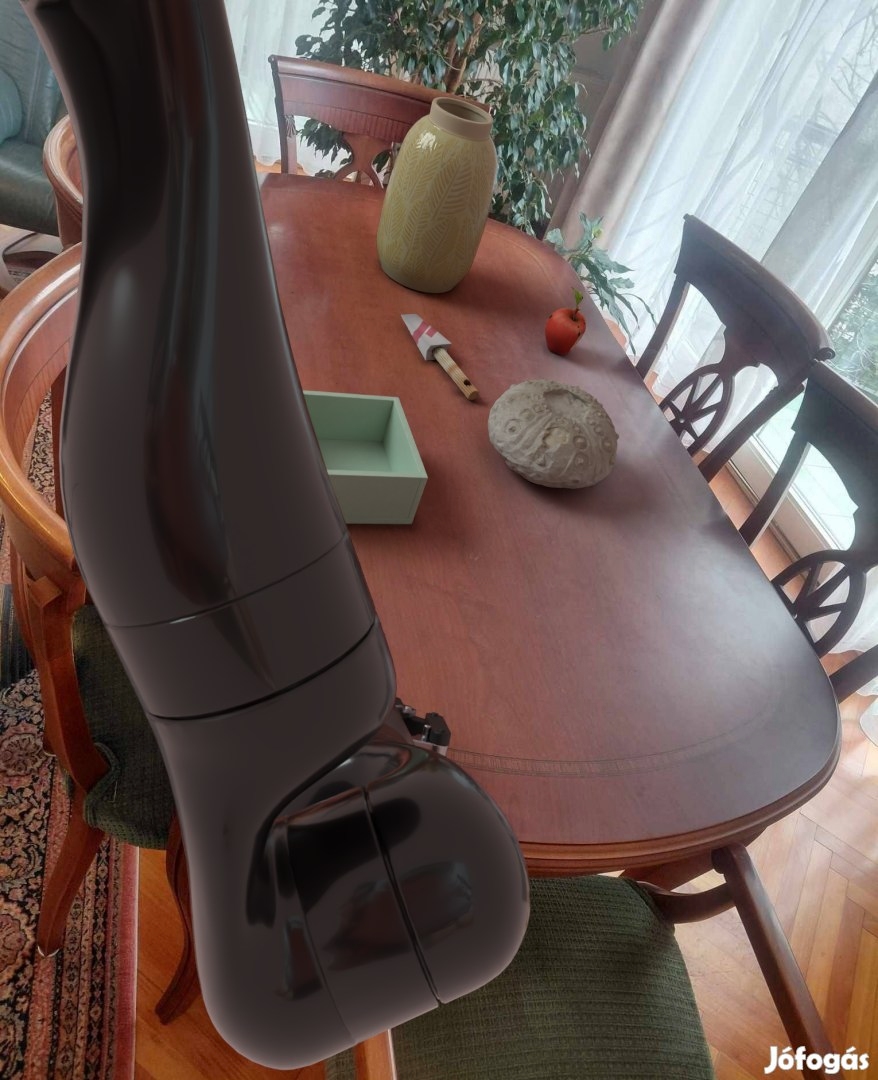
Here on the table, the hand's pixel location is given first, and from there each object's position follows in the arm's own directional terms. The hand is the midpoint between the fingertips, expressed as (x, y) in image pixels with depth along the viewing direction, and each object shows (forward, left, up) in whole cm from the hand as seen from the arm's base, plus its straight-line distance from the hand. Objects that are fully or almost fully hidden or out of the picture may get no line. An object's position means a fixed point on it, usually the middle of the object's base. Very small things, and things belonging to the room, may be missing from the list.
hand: (334, 699), depth 57 cm
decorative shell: (+32, +47, -12) cm, 58 cm away
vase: (+20, +95, -12) cm, 98 cm away
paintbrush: (+20, +68, -12) cm, 72 cm away
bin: (+4, +38, -12) cm, 40 cm away
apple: (+42, +78, -12) cm, 90 cm away
